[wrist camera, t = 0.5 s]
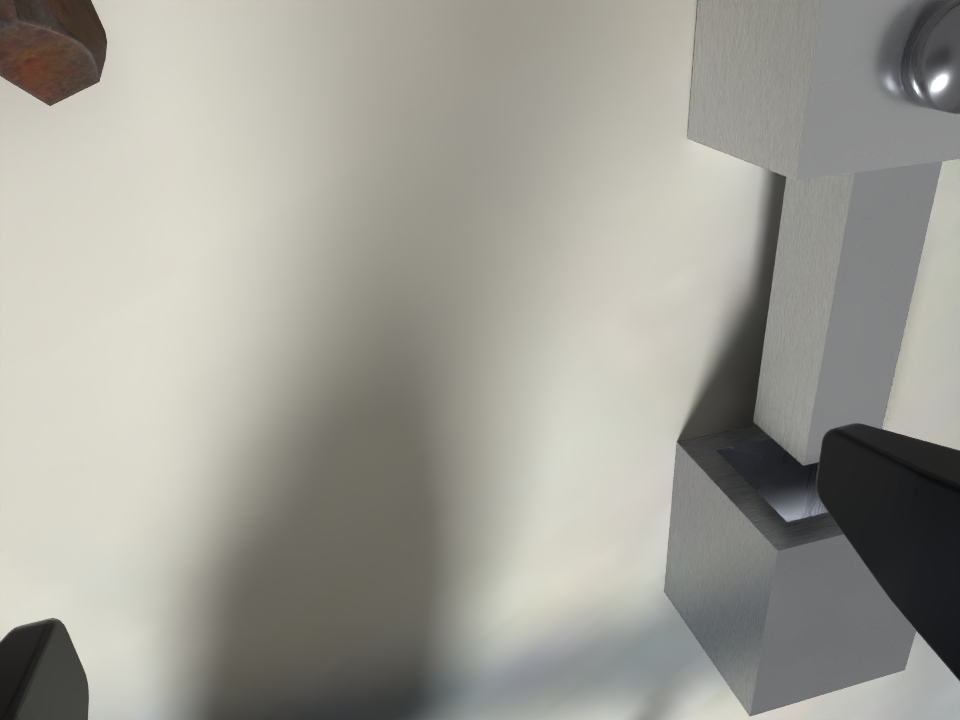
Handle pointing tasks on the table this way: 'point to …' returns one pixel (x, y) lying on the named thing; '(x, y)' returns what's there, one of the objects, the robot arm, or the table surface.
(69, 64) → the bolt
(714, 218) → the table surface
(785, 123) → the grey l-shaped piece
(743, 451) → the socket
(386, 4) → the table surface
